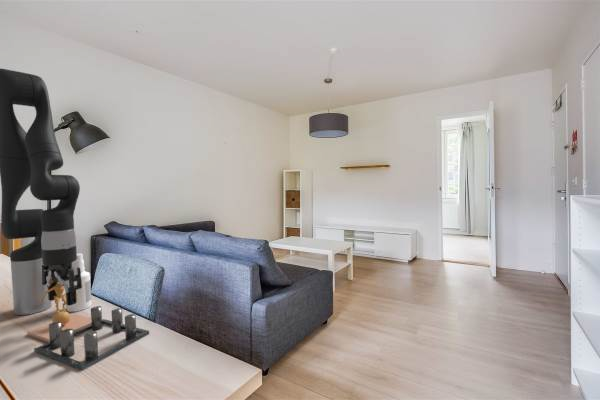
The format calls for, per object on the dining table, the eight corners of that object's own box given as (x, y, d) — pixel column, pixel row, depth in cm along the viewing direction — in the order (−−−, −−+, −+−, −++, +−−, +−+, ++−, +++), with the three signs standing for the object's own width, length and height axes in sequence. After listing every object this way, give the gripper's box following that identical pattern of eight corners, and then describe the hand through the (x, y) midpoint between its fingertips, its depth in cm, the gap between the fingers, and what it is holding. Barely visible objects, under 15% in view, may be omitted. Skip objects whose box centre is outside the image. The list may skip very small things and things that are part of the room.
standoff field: (34, 351, 72) (32, 328, 71) (103, 321, 87) (102, 302, 87) (82, 370, 64) (80, 344, 64) (149, 333, 80) (148, 312, 80)
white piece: (96, 305, 100) (93, 253, 99) (75, 313, 93) (72, 257, 92) (82, 302, 102) (79, 251, 101) (61, 310, 96) (57, 256, 95)
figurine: (44, 332, 79) (44, 288, 79) (38, 326, 83) (39, 284, 82) (81, 322, 85) (81, 282, 85) (74, 316, 89) (75, 277, 89)
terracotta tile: (27, 334, 80) (27, 331, 80) (75, 316, 91) (75, 313, 91) (50, 342, 76) (50, 339, 76) (98, 322, 87) (98, 319, 87)
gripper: (28, 246, 82) (32, 303, 82) (59, 250, 76) (62, 311, 77) (59, 241, 88) (62, 294, 89) (89, 245, 83) (92, 300, 84)
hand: (62, 302), depth 83 cm, fingers open, 8 cm apart
